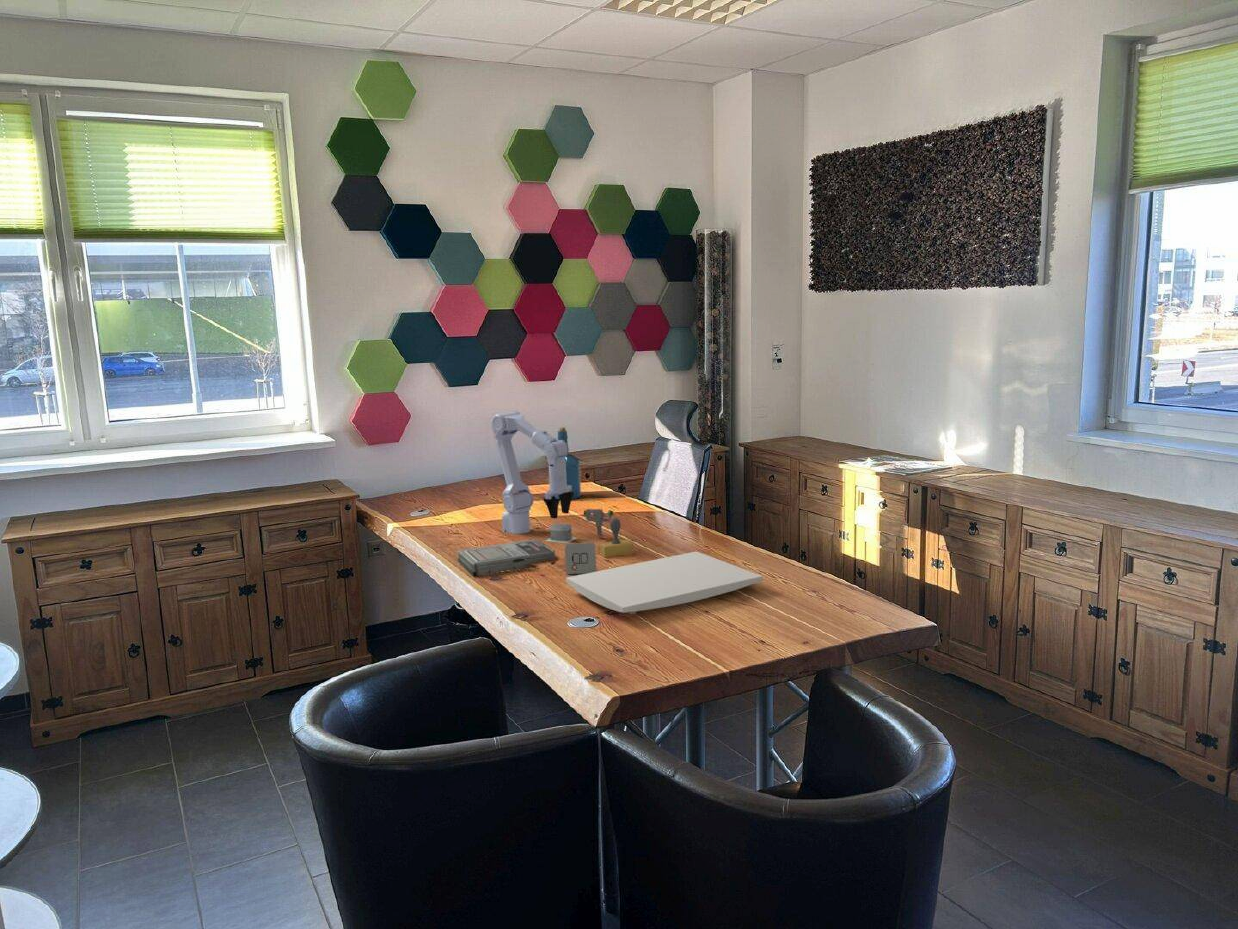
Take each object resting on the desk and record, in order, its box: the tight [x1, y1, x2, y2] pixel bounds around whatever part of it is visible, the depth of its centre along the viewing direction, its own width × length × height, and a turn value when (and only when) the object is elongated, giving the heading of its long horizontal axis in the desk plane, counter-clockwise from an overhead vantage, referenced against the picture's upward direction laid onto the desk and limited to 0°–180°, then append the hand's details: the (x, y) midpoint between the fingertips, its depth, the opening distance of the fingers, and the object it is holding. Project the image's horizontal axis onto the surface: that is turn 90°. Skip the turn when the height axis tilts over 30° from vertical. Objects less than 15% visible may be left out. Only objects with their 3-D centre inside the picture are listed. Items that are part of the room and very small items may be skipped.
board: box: [565, 551, 763, 615], centre depth 260 cm, size 45×32×5 cm
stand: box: [544, 536, 578, 544], centre depth 317 cm, size 9×7×2 cm
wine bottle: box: [547, 426, 582, 500], centre depth 389 cm, size 14×13×30 cm
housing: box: [549, 522, 573, 541], centre depth 316 cm, size 6×4×5 cm, turn 63°
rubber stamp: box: [598, 517, 634, 558], centre depth 301 cm, size 10×6×12 cm, turn 109°
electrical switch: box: [564, 542, 597, 575], centre depth 282 cm, size 9×5×9 cm, turn 90°
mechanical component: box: [583, 508, 614, 536], centre depth 322 cm, size 3×10×10 cm, turn 79°
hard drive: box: [457, 538, 556, 578], centre depth 295 cm, size 18×27×4 cm
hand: (559, 515), depth 315 cm, fingers open, 7 cm apart
